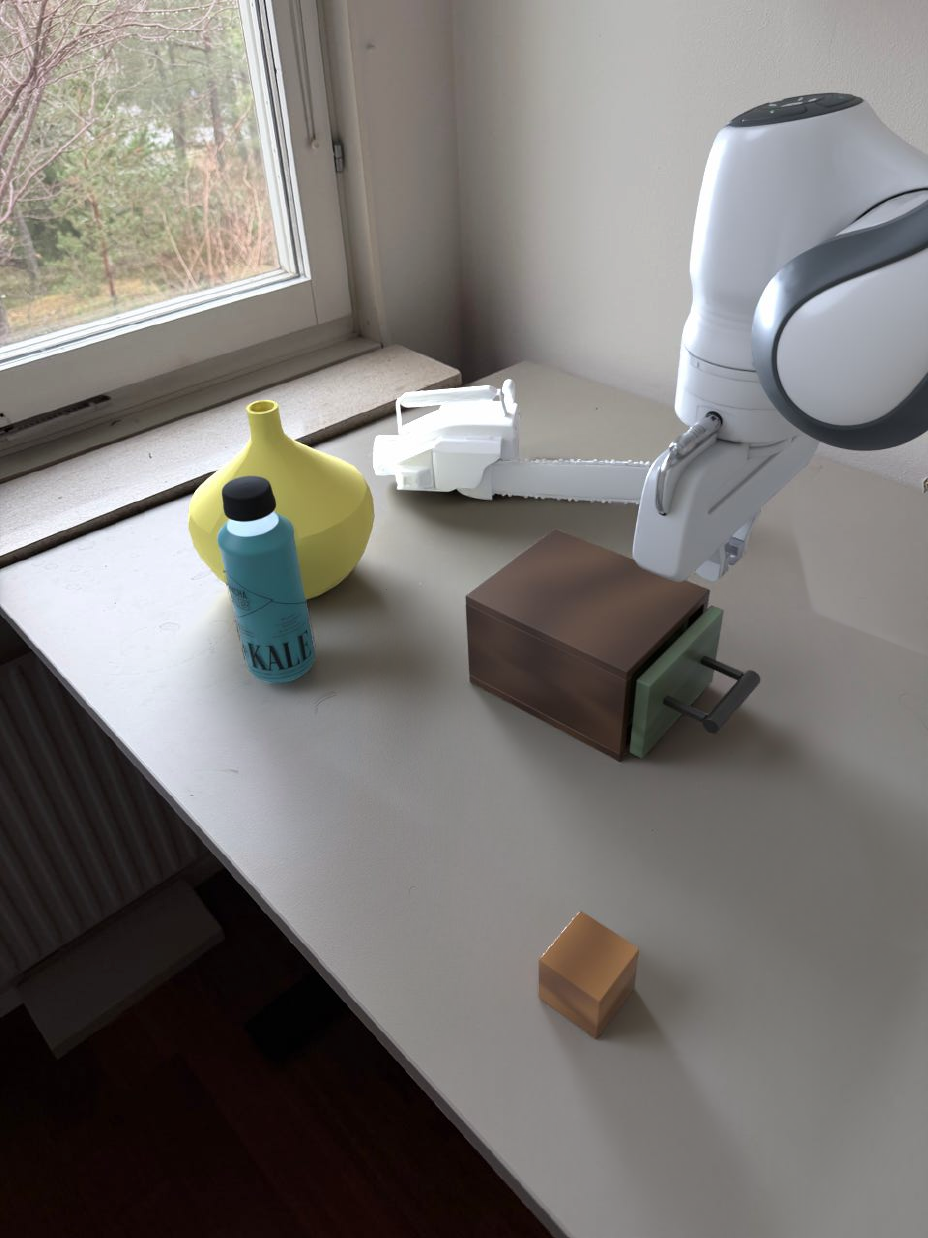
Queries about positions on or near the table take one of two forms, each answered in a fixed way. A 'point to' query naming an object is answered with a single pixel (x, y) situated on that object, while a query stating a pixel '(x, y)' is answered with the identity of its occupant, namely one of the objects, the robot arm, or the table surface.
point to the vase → (292, 502)
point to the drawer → (683, 683)
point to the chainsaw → (491, 453)
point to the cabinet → (573, 634)
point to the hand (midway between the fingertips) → (720, 566)
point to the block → (587, 973)
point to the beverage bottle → (265, 582)
